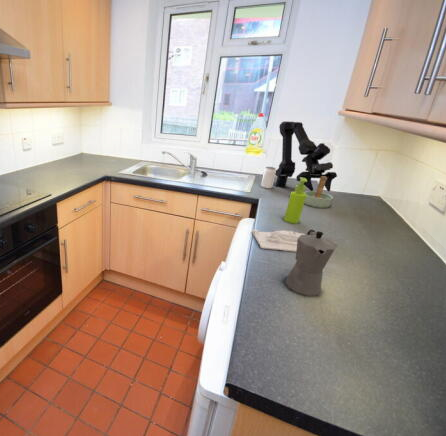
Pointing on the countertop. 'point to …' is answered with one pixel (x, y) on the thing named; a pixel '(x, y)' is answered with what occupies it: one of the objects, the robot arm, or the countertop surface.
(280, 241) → the beige cloth
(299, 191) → the soap dispenser
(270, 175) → the can
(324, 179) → the pestle
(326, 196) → the bowl
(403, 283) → the countertop surface
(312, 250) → the coffeepot
